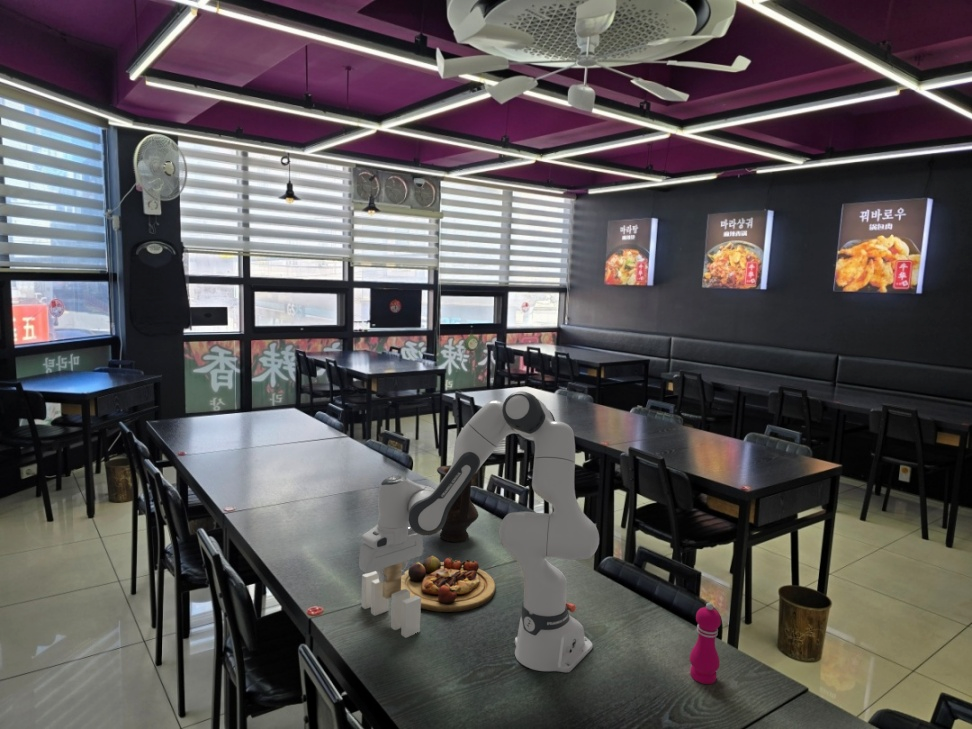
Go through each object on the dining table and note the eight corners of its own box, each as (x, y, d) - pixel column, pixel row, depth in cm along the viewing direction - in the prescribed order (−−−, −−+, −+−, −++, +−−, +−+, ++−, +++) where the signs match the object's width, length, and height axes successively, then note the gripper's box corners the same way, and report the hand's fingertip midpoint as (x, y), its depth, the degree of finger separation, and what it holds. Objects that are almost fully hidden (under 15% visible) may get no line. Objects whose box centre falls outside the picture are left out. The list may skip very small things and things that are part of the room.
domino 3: (396, 591, 185) (397, 558, 184) (400, 593, 184) (401, 561, 182) (382, 596, 182) (383, 563, 180) (386, 599, 180) (387, 565, 179)
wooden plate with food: (484, 621, 184) (486, 594, 183) (381, 605, 190) (382, 579, 189) (503, 575, 215) (504, 552, 215) (413, 562, 221) (414, 540, 221)
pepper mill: (711, 668, 165) (718, 596, 163) (722, 685, 158) (729, 610, 156) (684, 667, 165) (690, 595, 162) (694, 685, 158) (701, 610, 155)
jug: (422, 531, 248) (425, 457, 244) (465, 525, 256) (468, 453, 252) (442, 552, 229) (444, 472, 225) (487, 545, 237) (491, 468, 233)
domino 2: (384, 607, 189) (385, 576, 188) (388, 610, 188) (389, 578, 186) (370, 613, 185) (371, 581, 184) (374, 615, 184) (375, 583, 183)
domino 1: (375, 601, 192) (376, 570, 191) (379, 603, 191) (379, 572, 190) (361, 606, 189) (362, 574, 188) (365, 609, 188) (365, 577, 186)
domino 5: (415, 628, 178) (416, 595, 177) (419, 631, 177) (421, 598, 176) (401, 634, 175) (402, 600, 174) (405, 637, 173) (406, 603, 172)
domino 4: (404, 621, 182) (405, 588, 181) (409, 624, 180) (410, 591, 179) (390, 627, 178) (391, 594, 177) (394, 630, 177) (395, 596, 176)
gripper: (415, 520, 190) (414, 564, 191) (356, 537, 176) (355, 584, 177) (428, 527, 185) (427, 571, 187) (368, 544, 171) (367, 592, 173)
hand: (391, 578), depth 182 cm, fingers closed on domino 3, 5 cm apart
